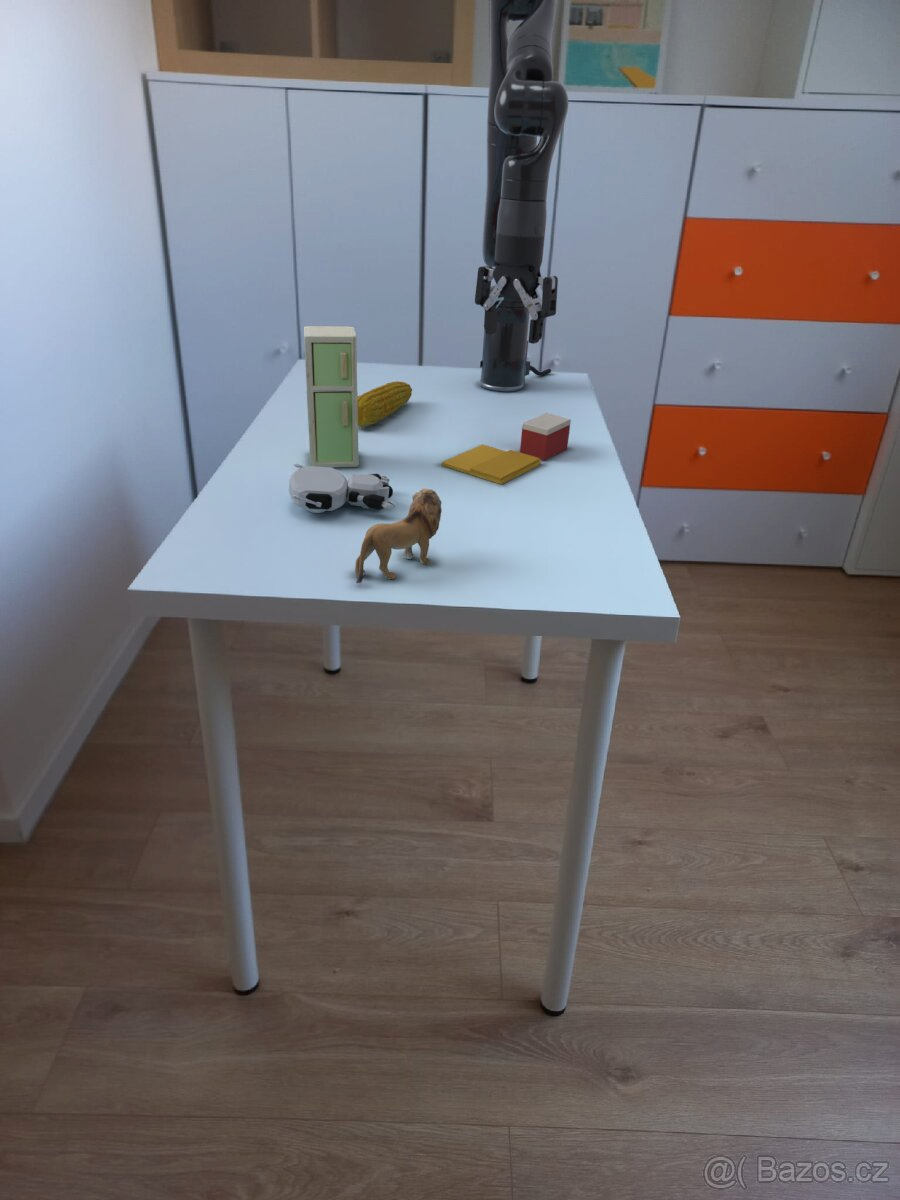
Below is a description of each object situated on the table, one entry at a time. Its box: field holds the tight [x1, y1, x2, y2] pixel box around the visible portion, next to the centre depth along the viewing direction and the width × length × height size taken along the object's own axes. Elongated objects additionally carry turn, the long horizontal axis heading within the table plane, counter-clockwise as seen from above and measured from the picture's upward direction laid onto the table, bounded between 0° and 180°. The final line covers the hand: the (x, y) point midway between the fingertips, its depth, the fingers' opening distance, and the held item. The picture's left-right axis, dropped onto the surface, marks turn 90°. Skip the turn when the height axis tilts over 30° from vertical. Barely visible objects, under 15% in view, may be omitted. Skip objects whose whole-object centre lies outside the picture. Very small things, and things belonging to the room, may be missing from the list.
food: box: [357, 380, 413, 428], centre depth 157 cm, size 21×6×6 cm, turn 159°
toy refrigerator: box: [303, 325, 360, 469], centre depth 131 cm, size 8×7×21 cm
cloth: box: [441, 444, 542, 485], centre depth 138 cm, size 12×12×1 cm
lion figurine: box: [354, 488, 443, 584], centre depth 104 cm, size 15×5×9 cm, turn 142°
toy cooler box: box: [519, 412, 572, 461], centre depth 144 cm, size 8×5×6 cm, turn 143°
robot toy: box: [288, 463, 395, 514], centre depth 121 cm, size 12×4×15 cm
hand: (511, 338), depth 137 cm, fingers open, 8 cm apart
